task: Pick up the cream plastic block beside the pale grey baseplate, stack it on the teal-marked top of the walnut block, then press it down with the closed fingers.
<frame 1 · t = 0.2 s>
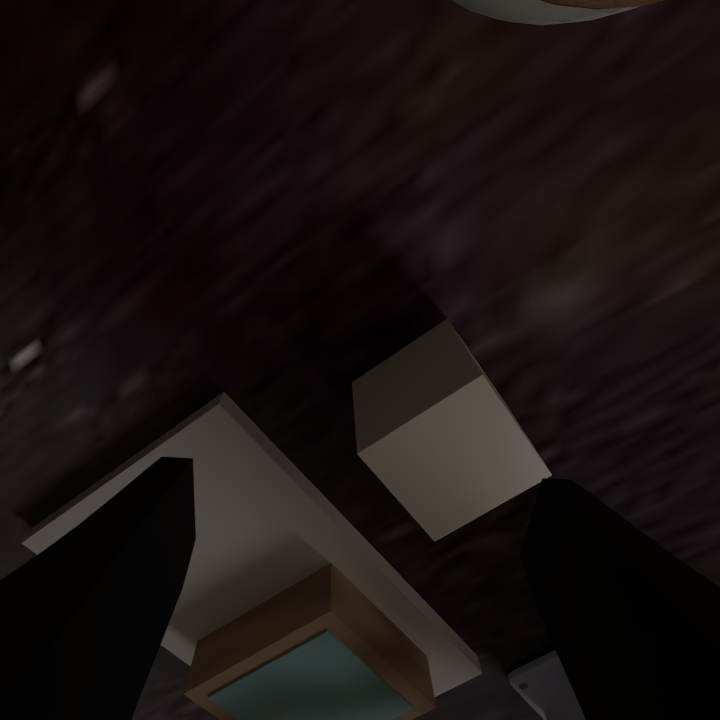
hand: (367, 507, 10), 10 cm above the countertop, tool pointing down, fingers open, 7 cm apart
walnut block: (315, 648, 25), resting on baseplate
cream block: (429, 391, 20), on the countertop
baseplate: (278, 597, 24), on the countertop
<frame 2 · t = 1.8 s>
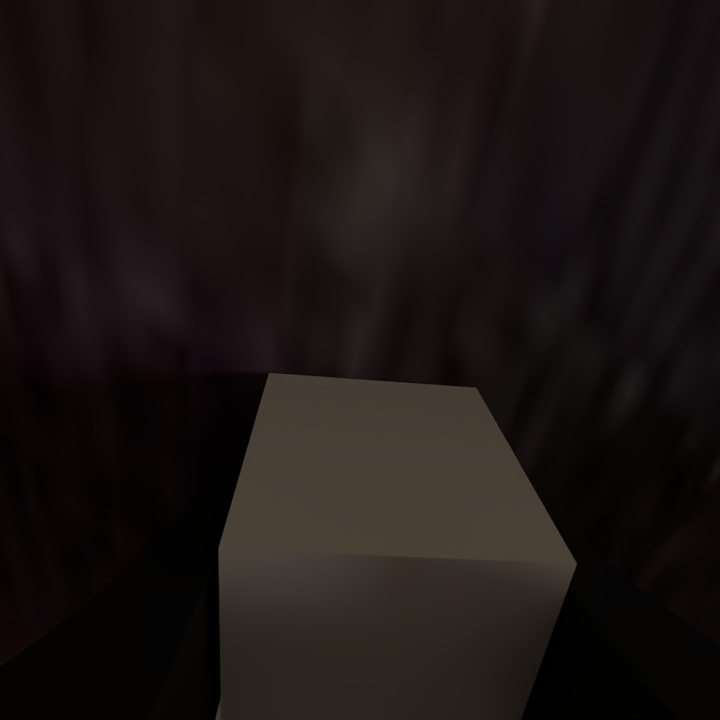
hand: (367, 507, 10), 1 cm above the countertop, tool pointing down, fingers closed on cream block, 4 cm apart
cream block: (363, 467, 12), on the countertop, touching gripper
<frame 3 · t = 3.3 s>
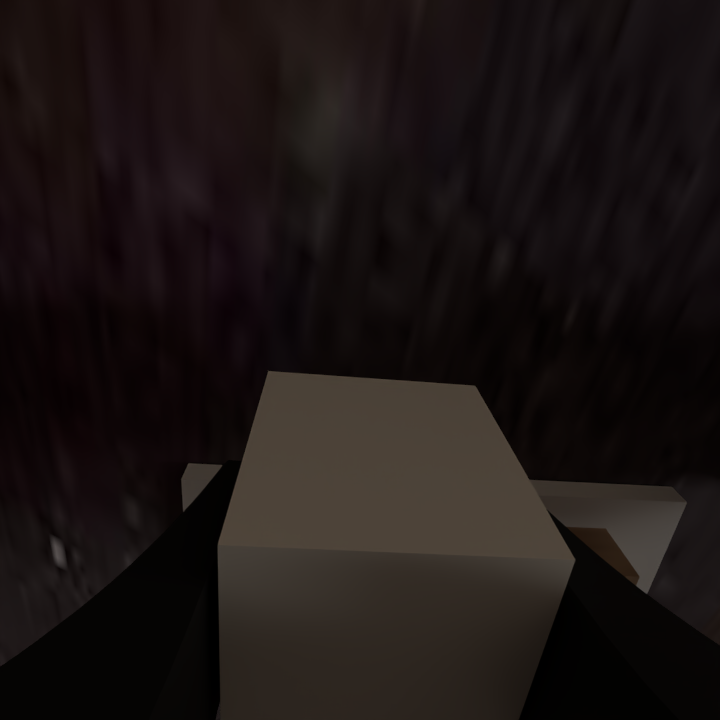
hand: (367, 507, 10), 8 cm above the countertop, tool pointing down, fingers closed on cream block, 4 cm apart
walnut block: (492, 596, 22), resting on baseplate
cream block: (362, 465, 12), point 7 cm above the countertop, touching gripper
baseplate: (420, 576, 23), on the countertop
when the fingers open (6 cm above the countertop, at t = 5.0 s): cream block stays where it is, resting on walnut block.
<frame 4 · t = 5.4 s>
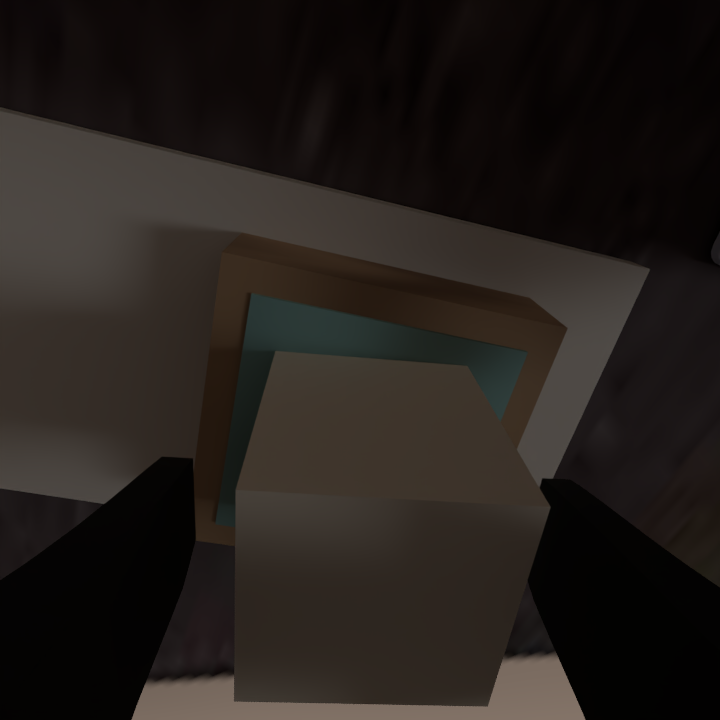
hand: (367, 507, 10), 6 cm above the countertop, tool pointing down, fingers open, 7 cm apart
walnut block: (357, 395, 15), resting on baseplate
cream block: (362, 440, 13), point 4 cm above the countertop, touching walnut block
baseplate: (261, 362, 15), on the countertop
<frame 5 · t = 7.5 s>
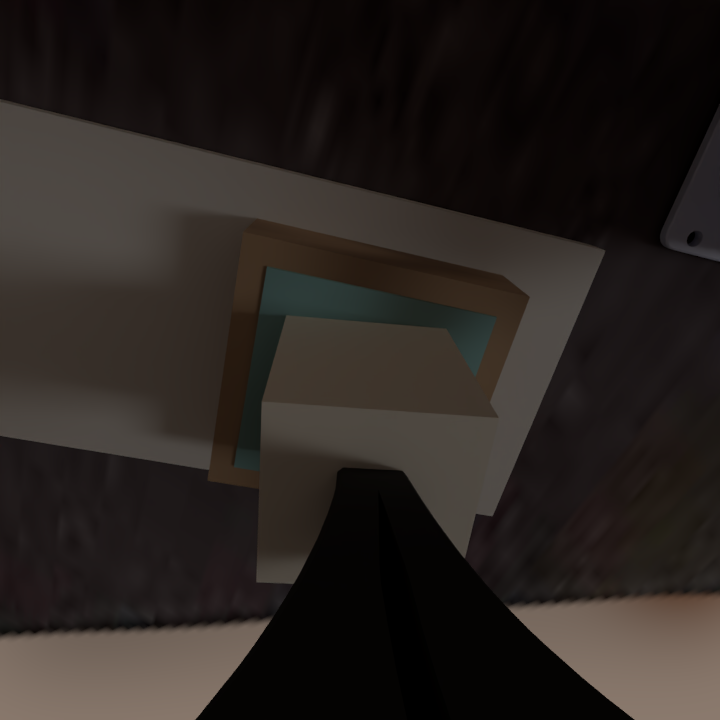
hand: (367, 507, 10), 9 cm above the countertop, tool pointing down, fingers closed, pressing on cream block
walnut block: (355, 361, 17), resting on baseplate
cream block: (359, 393, 15), point 4 cm above the countertop, touching gripper, walnut block
baseplate: (272, 333, 18), on the countertop
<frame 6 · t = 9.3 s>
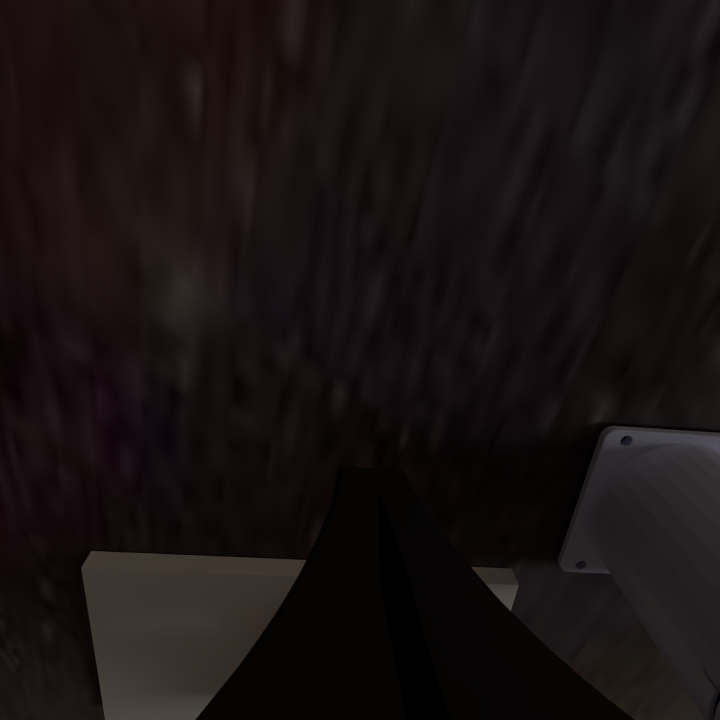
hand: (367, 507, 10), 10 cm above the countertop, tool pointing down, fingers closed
baseplate: (302, 640, 26), on the countertop
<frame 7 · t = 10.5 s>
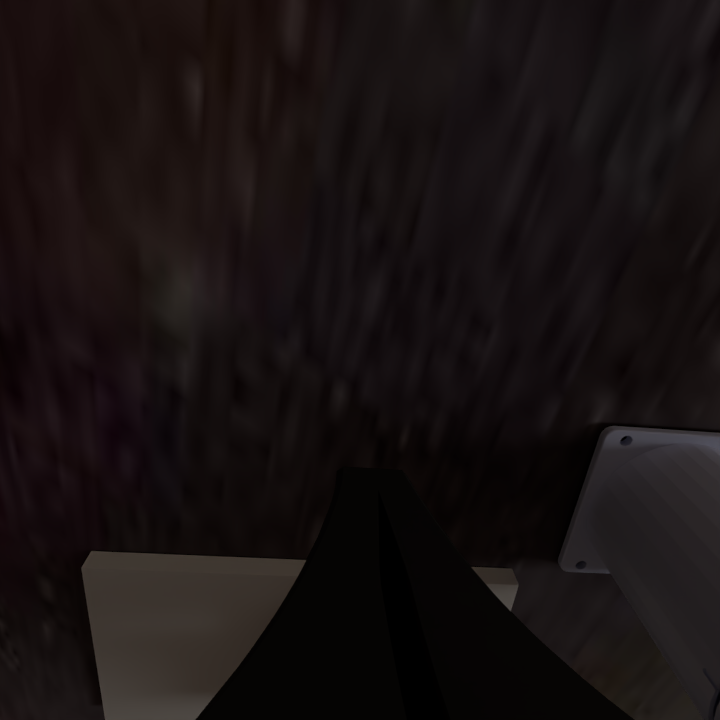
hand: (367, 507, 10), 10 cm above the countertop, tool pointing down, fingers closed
baseplate: (302, 640, 26), on the countertop
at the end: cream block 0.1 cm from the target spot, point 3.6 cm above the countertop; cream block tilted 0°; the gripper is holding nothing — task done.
